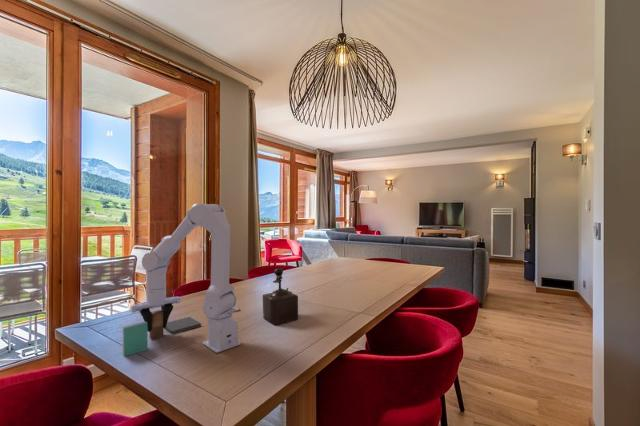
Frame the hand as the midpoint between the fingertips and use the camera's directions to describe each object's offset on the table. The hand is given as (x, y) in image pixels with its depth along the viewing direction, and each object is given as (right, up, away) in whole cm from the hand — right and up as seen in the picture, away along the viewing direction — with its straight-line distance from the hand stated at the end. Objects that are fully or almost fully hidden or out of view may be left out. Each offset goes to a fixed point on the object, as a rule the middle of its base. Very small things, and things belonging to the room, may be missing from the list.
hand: (156, 328), depth 98 cm
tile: (0, -2, -12) cm, 12 cm away
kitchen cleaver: (+12, -3, +33) cm, 35 cm away
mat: (+4, -2, +9) cm, 10 cm away
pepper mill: (+38, -2, +17) cm, 42 cm away
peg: (0, -2, 0) cm, 2 cm away
